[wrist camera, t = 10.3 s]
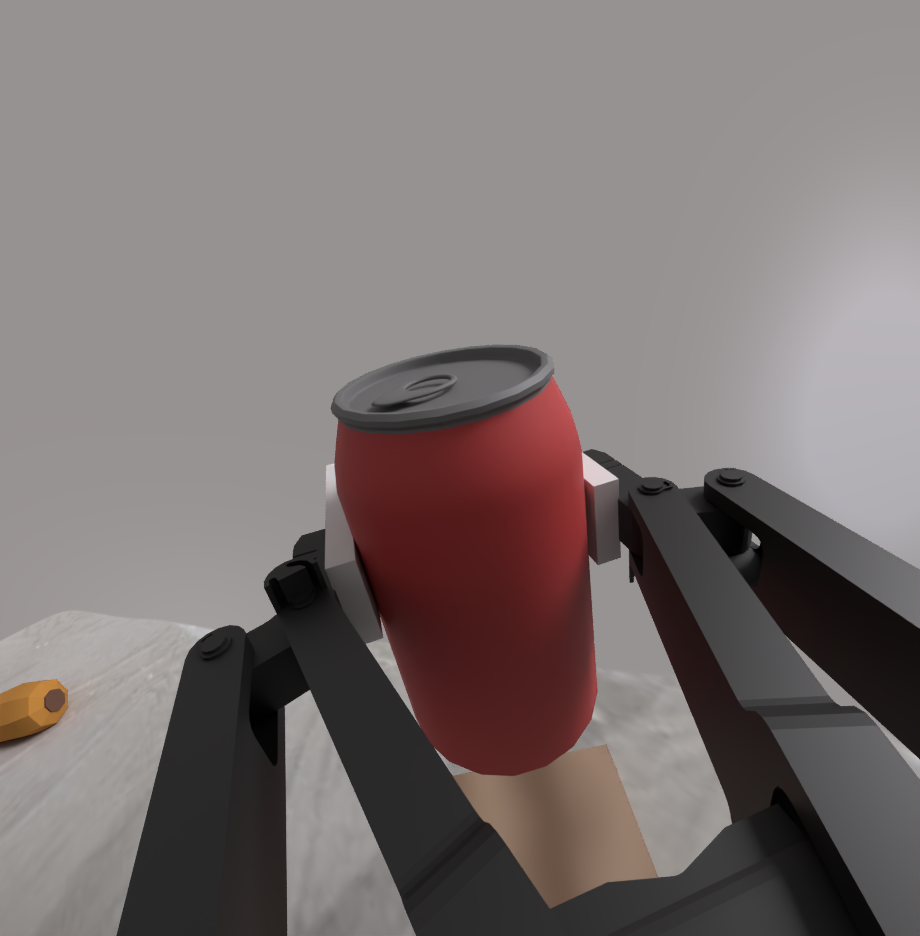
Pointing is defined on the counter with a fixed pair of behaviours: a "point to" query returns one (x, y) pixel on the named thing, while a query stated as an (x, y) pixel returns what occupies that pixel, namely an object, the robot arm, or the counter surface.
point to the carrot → (31, 708)
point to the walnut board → (564, 823)
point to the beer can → (475, 548)
